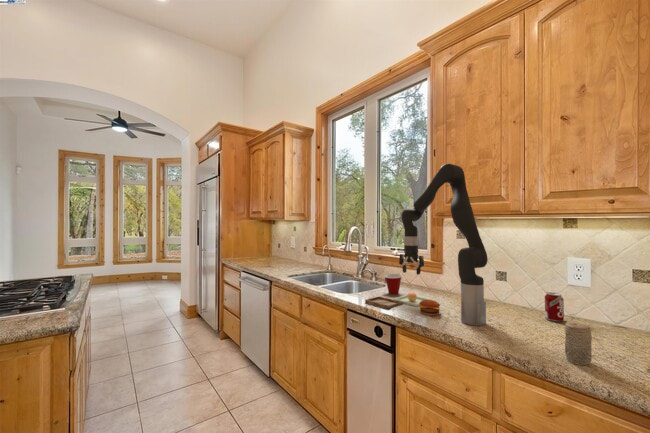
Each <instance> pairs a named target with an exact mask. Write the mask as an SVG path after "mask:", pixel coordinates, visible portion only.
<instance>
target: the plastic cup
mask: <svg viewBox="0 0 650 433" xmlns="http://www.w3.org/2000/svg"><path fill="white" fill-rule="evenodd" d="M383 277H384V278H385V281H386V286H387V290H388V294H389V295H393V296H395V295H399V293H400V287H401V280H402V277H403V275H402V274H399V273H387V274H385V275H384V276H383Z"/></svg>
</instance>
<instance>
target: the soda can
mask: <svg viewBox="0 0 650 433" xmlns="http://www.w3.org/2000/svg"><path fill="white" fill-rule="evenodd" d="M564 303H565V302H564V298H563V296H562V294H561V293H558V292H549V291H547V292H545V295H544V318H545V319H547V320H548V321H550V322H555V323H561V322H564V321H565V310H564V309H565V306H564Z"/></svg>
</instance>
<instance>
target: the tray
mask: <svg viewBox="0 0 650 433" xmlns="http://www.w3.org/2000/svg"><path fill="white" fill-rule="evenodd" d="M364 303H365V304H368V305H371V306H375V307H378V308H382V309H384V310H392V308H394V307H395V308H396V307H398V306H402V305H403V302H401V301H397V300H393V298H387V297H383V296H381V295H380V296H375V297H371V298H367V299H365V302H364Z"/></svg>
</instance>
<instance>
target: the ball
mask: <svg viewBox="0 0 650 433" xmlns="http://www.w3.org/2000/svg"><path fill="white" fill-rule="evenodd" d="M407 295H408V296H407V297H408V299H409V300H410V301H415V300H416V299H417V294H416V293H415V292H412V291H410V292H408V294H407Z"/></svg>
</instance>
